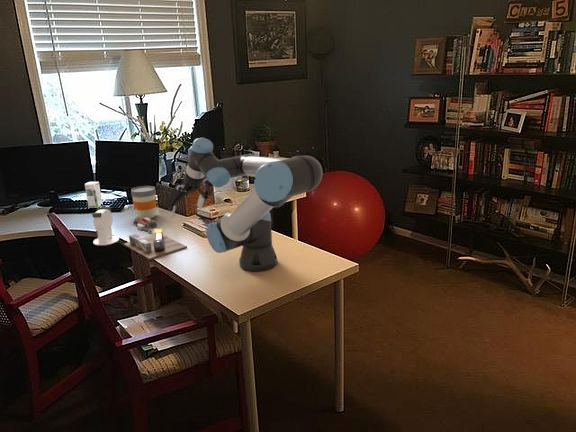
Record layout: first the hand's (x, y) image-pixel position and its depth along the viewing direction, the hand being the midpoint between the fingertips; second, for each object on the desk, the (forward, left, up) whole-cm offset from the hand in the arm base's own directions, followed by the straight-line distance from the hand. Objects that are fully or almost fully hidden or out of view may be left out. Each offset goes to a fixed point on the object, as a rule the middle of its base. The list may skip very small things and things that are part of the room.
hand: (185, 211), depth 203 cm
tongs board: (+17, +7, -18) cm, 26 cm away
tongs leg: (+17, +5, -17) cm, 25 cm away
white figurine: (+41, +19, -19) cm, 49 cm away
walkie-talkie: (+44, -3, -19) cm, 48 cm away
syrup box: (+97, +2, -19) cm, 99 cm away
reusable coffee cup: (+60, -11, -19) cm, 64 cm away
